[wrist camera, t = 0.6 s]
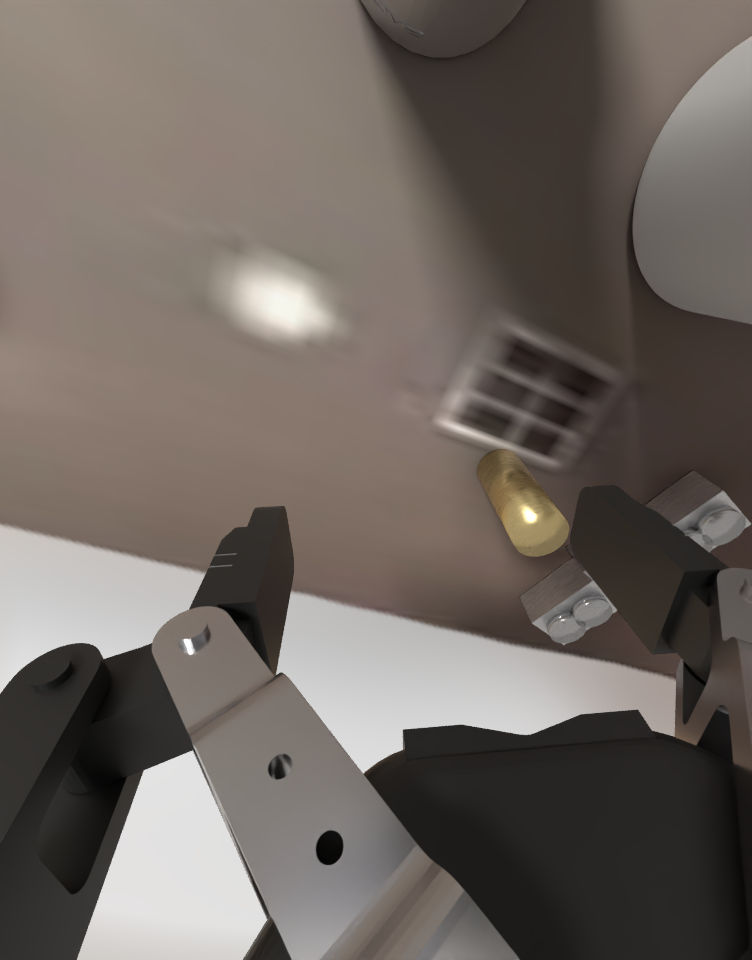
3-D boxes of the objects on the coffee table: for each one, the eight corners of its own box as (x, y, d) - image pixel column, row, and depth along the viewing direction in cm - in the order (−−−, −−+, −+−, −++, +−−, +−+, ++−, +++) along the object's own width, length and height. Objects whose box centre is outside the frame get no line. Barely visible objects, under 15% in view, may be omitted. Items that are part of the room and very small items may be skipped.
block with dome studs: (683, 459, 31) (723, 485, 27) (727, 511, 33) (768, 540, 30) (509, 589, 37) (524, 623, 33) (558, 624, 39) (577, 659, 36)
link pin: (501, 440, 29) (546, 502, 22) (528, 465, 30) (580, 531, 23) (468, 471, 30) (501, 538, 23) (496, 494, 32) (536, 565, 25)
